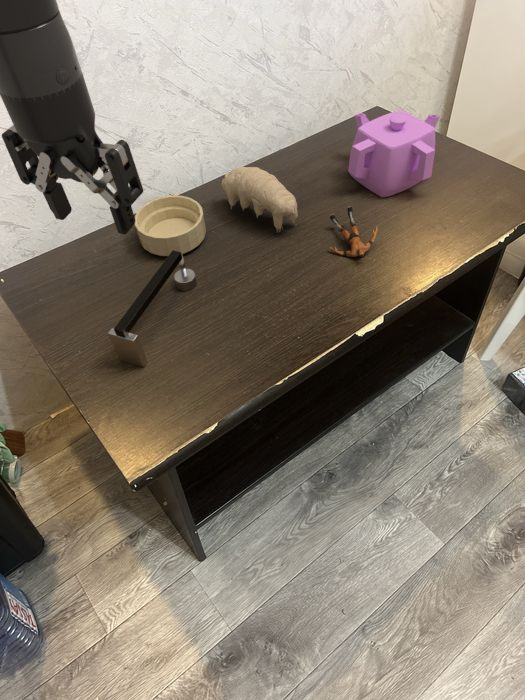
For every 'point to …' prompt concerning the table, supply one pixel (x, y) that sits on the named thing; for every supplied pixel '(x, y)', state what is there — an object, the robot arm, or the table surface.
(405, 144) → the teakettle
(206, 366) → the table surface
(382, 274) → the table surface
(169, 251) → the bowl
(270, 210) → the model
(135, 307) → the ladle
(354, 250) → the figurine
